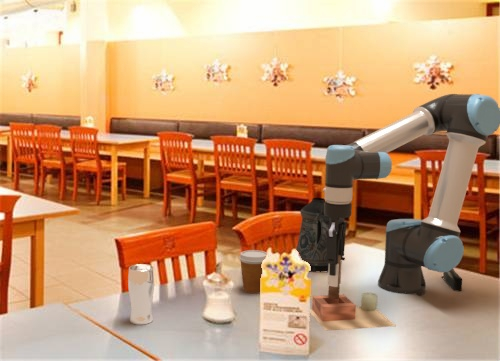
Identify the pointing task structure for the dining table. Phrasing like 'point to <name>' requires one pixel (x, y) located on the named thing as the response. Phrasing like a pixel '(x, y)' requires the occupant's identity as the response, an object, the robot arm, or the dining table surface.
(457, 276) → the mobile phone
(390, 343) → the dining table surface
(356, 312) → the board
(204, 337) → the dining table surface
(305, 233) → the beer stein
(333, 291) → the brown wooden cylinder
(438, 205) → the robot arm
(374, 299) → the loose bead
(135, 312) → the beer glass
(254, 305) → the dining table surface
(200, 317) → the dining table surface
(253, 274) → the disposable coffee cup
